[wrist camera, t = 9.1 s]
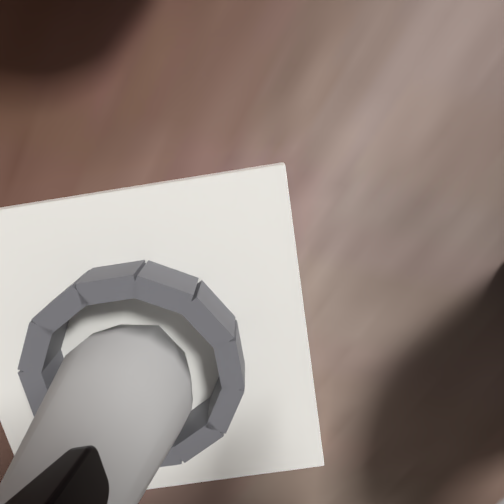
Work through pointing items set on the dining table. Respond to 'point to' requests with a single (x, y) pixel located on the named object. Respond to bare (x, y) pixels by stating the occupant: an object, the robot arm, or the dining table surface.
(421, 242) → the dining table surface
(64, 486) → the robot arm
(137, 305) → the ring holder
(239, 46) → the dining table surface
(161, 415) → the salt shaker
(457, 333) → the dining table surface
